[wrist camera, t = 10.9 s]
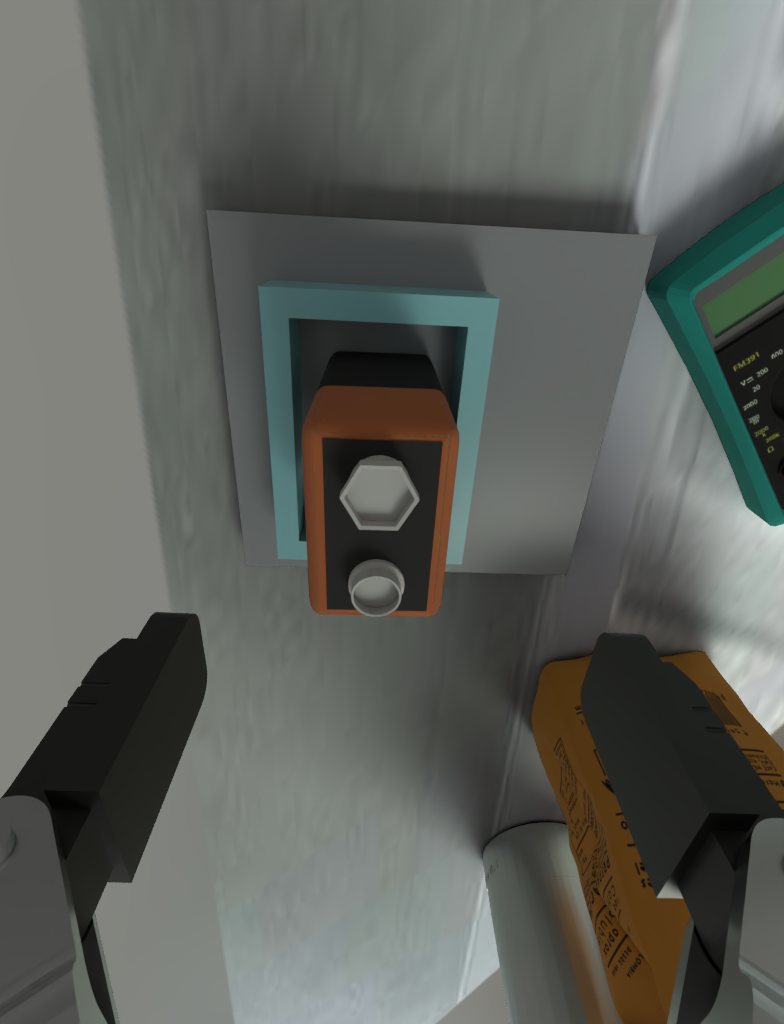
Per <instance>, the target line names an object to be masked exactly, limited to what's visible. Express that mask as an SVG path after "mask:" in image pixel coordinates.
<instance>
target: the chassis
mask: <svg viewBox="0 0 784 1024" xmlns="http://www.w3.org/2000/svg"><path fill="white" fill-rule="evenodd" d="M206 214H207V223H208V232H209V241H210V250H211V259H212V268H213V277H214V286H215V295H216V304H217V313H218V322H219V331H220V340H221V349H222V358H223V367H224V376H225V385H226V394H227V403H228V412H229V421H230V429H231V438H232V447H233V456H234V465H235V474H236V483H237V492H238V501H239V510H240V519H241V528H242V537H243V546H244V555H245V564H246V566H260V567H295V568H308V562H307V541H306V520H305V500H304V479H303V458H302V428H303V425H304V422H305V420H306V417H307V415H308V412H309V410H310V407H311V405H312V402H313V400H314V397H315V394H316V392H317V389H318V387H319V384H320V382H321V379H322V377H323V374H324V372H325V369H326V367H327V364H328V362H329V359H330V357H331V356H332V355H333V354H334V353H335V352H338V351H348V352H374V353H400V354H422V355H426V356H428V357H429V358H430V360H431V362H432V364H433V366H434V369H435V371H436V374H437V377H438V379H439V382H440V384H441V387H442V390H443V392H444V395H445V397H446V400H447V402H448V405H449V408H450V410H451V413H452V415H453V418H454V421H455V423H456V426H457V428H458V431H459V451H458V460H457V469H456V477H455V486H454V495H453V504H452V513H451V521H450V530H449V539H448V548H447V557H446V565H445V572H467V573H501V574H536V575H566V574H567V570H568V566H569V563H570V559H571V555H572V551H573V548H574V544H575V540H576V537H577V533H578V529H579V525H580V522H581V518H582V514H583V510H584V507H585V503H586V499H587V496H588V492H589V488H590V484H591V481H592V477H593V473H594V470H595V466H596V462H597V458H598V455H599V451H600V447H601V443H602V440H603V436H604V432H605V429H606V425H607V421H608V417H609V414H610V410H611V406H612V402H613V399H614V395H615V391H616V388H617V384H618V380H619V376H620V373H621V369H622V365H623V362H624V358H625V354H626V350H627V347H628V343H629V339H630V335H631V332H632V328H633V324H634V321H635V317H636V313H637V309H638V306H639V302H640V298H641V294H642V291H643V287H644V283H645V280H646V276H647V272H648V268H649V265H650V261H651V257H652V254H653V250H654V246H655V242H656V239H657V236H653V235H635V234H618V233H601V232H584V231H566V230H549V229H532V228H514V227H497V226H480V225H463V224H445V223H428V222H411V221H394V220H376V219H359V218H342V217H324V216H307V215H290V214H273V213H255V212H238V211H221V210H206Z"/></svg>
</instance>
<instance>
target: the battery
mask: <svg viewBox="0 0 784 1024" xmlns="http://www.w3.org/2000/svg"><path fill="white" fill-rule="evenodd" d="M458 451H459V431H458V428H457V426H456V423H455V421H454V418H453V415H452V413H451V410H450V408H449V405H448V402H447V400H446V397H445V395H444V392H443V390H442V387H441V384H440V382H439V379H438V377H437V374H436V371H435V369H434V366H433V364H432V362H431V360H430V358H429V357H428V356H426V355H422V354H400V353H374V352H348V351H338V352H335V353H334V354H333V355H332V356H331V357H330V359H329V362H328V364H327V367H326V369H325V372H324V374H323V377H322V379H321V382H320V384H319V387H318V389H317V392H316V394H315V397H314V400H313V402H312V405H311V407H310V410H309V412H308V415H307V417H306V420H305V422H304V425H303V428H302V458H303V479H304V500H305V520H306V541H307V562H308V582H309V597H310V603H311V606H312V608H313V610H314V611H315V612H316V613H318V614H325V615H367V616H371V617H382V616H432V615H434V614H435V613H436V612H437V611H438V609H439V607H440V604H441V599H442V592H443V583H444V574H445V565H446V557H447V548H448V539H449V530H450V521H451V513H452V504H453V495H454V486H455V477H456V469H457V460H458Z"/></svg>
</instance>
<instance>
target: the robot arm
mask: <svg viewBox="0 0 784 1024" xmlns="http://www.w3.org/2000/svg"><path fill="white" fill-rule="evenodd" d="M206 685H207V666H206V660H205V654H204V647H203V641H202V635H201V629H200V622H199V619H198V616H197V615H196V614H189V613H164V612H156V613H154V614H153V615H152V616H151V617H150V618H149V620H148V621H147V623H146V625H145V626H144V628H143V630H142V631H141V633H140V634H139V636H138V638H137V639H128V638H123V639H121V640H120V641H119V642H117V643H116V644H115V645H114V646H112V647H111V648H110V649H108V650H107V651H106V652H105V653H103V654H102V655H101V656H100V657H98V658H97V660H96V661H95V663H94V664H93V666H92V667H91V669H90V670H89V672H88V673H87V675H86V676H85V678H84V679H83V680H82V684H81V686H80V687H78V688H77V689H76V691H75V692H74V694H73V695H72V696H71V698H70V699H69V701H68V705H67V707H64V708H63V710H62V711H61V713H60V714H59V716H58V717H57V719H56V720H55V722H54V723H53V725H52V726H51V728H50V729H49V730H48V732H47V733H46V735H45V736H44V738H43V739H42V741H41V742H40V744H39V745H38V746H37V748H36V750H35V751H34V752H33V754H32V755H31V757H30V758H29V760H28V761H27V763H26V764H25V766H24V767H23V768H22V770H21V771H20V773H19V774H18V776H17V777H16V779H15V780H14V782H13V783H12V785H11V786H10V787H9V789H8V790H7V791H6V793H5V794H4V795H3V796H2V797H1V798H0V1024H120V1021H119V1017H118V1013H117V1008H116V1004H115V999H114V995H113V990H112V986H111V981H110V977H109V973H108V968H107V964H106V959H105V955H104V950H103V946H102V941H101V937H100V933H99V928H98V923H97V919H96V915H95V909H96V907H97V904H98V902H99V900H100V898H101V895H102V893H103V891H104V888H105V886H106V884H107V882H124V883H125V882H126V883H127V882H128V883H129V882H130V883H131V882H132V880H133V877H134V874H135V872H136V870H137V867H138V865H139V862H140V860H141V857H142V855H143V852H144V850H145V847H146V844H147V842H148V839H149V837H150V834H151V832H152V829H153V827H154V824H155V822H156V819H157V817H158V814H159V812H160V809H161V806H162V804H163V801H164V799H165V796H166V794H167V791H168V789H169V786H170V784H171V781H172V778H173V776H174V773H175V771H176V768H177V766H178V763H179V761H180V758H181V756H182V753H183V750H184V748H185V746H186V743H187V740H188V738H189V735H190V733H191V730H192V728H193V725H194V723H195V720H196V718H197V715H198V713H199V710H200V707H201V705H202V702H203V699H204V695H205V691H206ZM581 708H582V713H583V717H584V719H585V722H586V724H587V727H588V729H589V732H590V734H591V737H592V739H593V742H594V744H595V747H596V749H597V752H598V754H599V757H600V759H601V761H602V764H603V766H604V769H605V771H606V774H607V776H608V779H609V781H610V784H611V786H612V789H613V791H614V794H615V796H616V799H617V801H618V803H619V806H620V808H621V811H622V813H623V816H624V818H625V821H626V823H627V826H628V828H629V831H630V833H631V836H632V838H633V841H634V843H635V846H636V848H637V850H638V853H639V855H640V858H641V860H642V863H643V865H644V868H645V870H646V873H647V875H648V878H649V880H650V883H651V885H652V888H653V890H654V893H655V895H656V897H657V898H683V899H684V901H685V903H686V906H687V908H688V910H689V912H690V915H691V917H690V918H689V920H688V921H687V924H686V927H685V932H684V938H683V943H682V948H681V953H680V958H679V964H678V969H677V974H676V979H675V985H674V990H673V995H672V1000H671V1006H670V1011H669V1016H668V1021H667V1024H784V812H783V810H782V809H781V807H780V806H779V804H778V803H777V801H776V800H775V798H774V797H773V795H772V794H771V793H770V791H769V790H768V788H767V787H766V785H765V784H764V782H763V781H762V779H761V778H760V776H759V775H758V774H757V772H756V771H755V769H754V768H753V766H752V765H751V763H750V762H749V760H748V759H747V757H746V756H745V755H744V753H743V752H742V750H741V749H740V747H739V746H738V744H737V743H736V741H735V740H734V738H733V737H732V735H731V734H730V733H727V732H726V727H725V725H724V724H723V722H722V721H721V719H720V718H719V716H718V715H717V714H716V712H713V711H712V706H711V705H710V703H709V702H708V700H707V699H706V697H705V696H704V695H703V693H702V692H701V690H700V689H699V687H698V686H697V684H696V683H695V682H694V681H693V680H691V679H690V678H689V677H688V676H687V675H686V674H684V673H683V672H682V671H681V670H680V669H679V668H677V667H676V666H675V665H674V664H673V663H672V662H662V660H661V659H660V657H659V655H658V654H657V652H656V651H655V649H654V648H653V646H652V644H651V643H650V641H649V640H648V639H647V638H646V637H645V636H644V635H641V634H623V633H603V634H601V635H600V636H599V638H598V640H597V643H596V646H595V649H594V652H593V654H592V657H591V660H590V663H589V666H588V669H587V672H586V675H585V678H584V681H583V683H582V687H581ZM483 865H484V871H485V878H486V879H485V880H486V886H487V891H488V895H489V902H490V908H491V915H492V921H493V927H494V933H495V939H496V945H497V951H498V957H499V964H500V970H501V976H502V982H503V988H504V994H505V1000H506V1006H507V1012H508V1019H509V1024H623V1022H622V1021H621V1019H620V1018H619V1015H618V1013H617V1011H616V1008H615V1006H614V1003H613V1000H612V996H611V992H610V989H609V985H608V981H607V978H606V974H605V970H604V967H603V963H602V959H601V955H600V951H599V946H598V943H597V939H596V935H595V932H594V928H593V925H592V922H591V918H590V915H589V912H588V909H587V906H586V902H585V898H584V895H583V891H582V887H581V883H580V878H579V873H578V869H577V865H576V863H575V860H574V858H573V855H572V853H571V850H570V846H569V837H568V826H567V825H565V824H559V823H532V824H527V825H522V826H518V827H515V828H512V829H510V830H507V831H505V832H503V833H501V834H499V835H498V836H496V837H495V838H494V839H493V840H491V841H490V842H489V844H488V845H487V846H486V847H485V850H484V852H483Z"/></svg>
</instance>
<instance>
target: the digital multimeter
mask: <svg viewBox="0 0 784 1024" xmlns="http://www.w3.org/2000/svg"><path fill="white" fill-rule="evenodd" d="M647 291H648V296H649V298H650V300H651V302H652V304H653V305H654V307H655V309H656V311H657V313H658V315H659V316H660V318H661V320H662V322H663V324H664V326H665V328H666V329H667V331H668V333H669V335H670V337H671V339H672V341H673V342H674V344H675V346H676V348H677V350H678V352H679V354H680V355H681V357H682V359H683V361H684V363H685V365H686V366H687V368H688V371H689V373H690V375H691V377H692V379H693V381H694V383H695V385H696V387H697V389H698V391H699V393H700V395H701V397H702V399H703V402H704V404H705V406H706V408H707V410H708V412H709V414H710V416H711V418H712V420H713V422H714V425H715V427H716V430H717V432H718V435H719V437H720V439H721V442H722V444H723V447H724V449H725V452H726V454H727V456H728V459H729V461H730V464H731V466H732V468H733V471H734V474H735V476H736V479H737V482H738V484H739V487H740V490H741V492H742V495H743V498H744V501H745V503H746V506H747V507H748V508H749V509H750V510H751V511H752V512H754V513H755V514H756V515H758V516H759V517H760V518H761V519H763V520H764V521H765V522H767V523H768V524H769V525H770V526H777V525H781V524H784V183H783V184H782V185H780V186H778V187H777V188H775V189H773V190H772V191H770V192H769V193H767V194H766V195H764V196H762V197H761V198H759V199H758V200H756V201H755V202H753V203H752V204H750V205H748V206H747V207H745V208H744V209H742V210H741V211H739V212H738V213H736V214H735V215H734V216H732V217H731V218H729V219H728V220H727V221H725V222H724V223H722V224H721V225H720V226H718V227H717V228H715V229H714V230H712V231H711V232H710V233H708V234H707V235H706V236H705V237H703V238H702V239H701V240H700V241H698V242H697V243H696V244H694V245H693V246H692V247H691V248H689V249H688V250H687V251H686V252H684V253H683V254H682V255H681V256H679V257H678V258H677V259H676V260H674V261H673V262H672V263H671V264H670V265H668V266H667V267H666V268H665V269H664V270H662V271H661V272H660V273H659V274H658V275H656V276H655V277H654V278H653V279H652V280H651V281H650V283H649V286H648V288H647ZM716 356H717V357H716ZM717 358H718V359H717ZM718 361H719V362H718ZM719 363H720V364H719ZM720 365H721V366H720ZM721 368H722V369H721ZM722 370H723V371H722ZM723 372H724V374H723ZM724 375H725V376H724ZM725 377H726V378H725ZM726 379H727V381H726ZM727 382H728V383H727ZM728 384H729V385H728ZM729 387H730V388H729ZM730 389H731V390H730ZM731 391H732V392H731ZM732 394H733V395H732ZM733 396H734V397H733ZM734 398H735V399H734ZM735 401H736V402H735ZM736 403H737V404H736ZM737 405H738V406H737ZM738 408H739V409H738ZM739 410H740V411H739ZM768 410H769V411H768ZM740 412H741V413H740ZM741 415H742V416H741ZM742 417H743V418H742ZM772 417H773V418H772ZM743 419H744V420H743ZM776 421H777V422H776ZM744 422H745V423H744ZM745 424H746V425H745ZM746 426H747V427H746ZM747 429H748V430H747ZM748 431H749V432H748ZM749 433H750V434H749ZM750 436H751V437H750ZM751 438H752V439H751ZM752 440H753V441H752ZM753 443H754V444H753ZM754 445H755V446H754ZM755 447H756V448H755ZM756 450H757V451H756ZM757 452H758V453H757ZM758 454H759V455H758ZM762 464H763V465H762ZM763 466H764V467H763ZM764 468H765V469H764ZM765 471H766V472H765ZM766 473H767V474H766ZM767 475H768V477H767ZM768 478H769V479H768ZM769 480H770V481H769ZM770 482H771V483H770ZM771 485H772V486H771ZM772 487H773V488H772ZM774 492H775V493H774ZM775 494H776V495H775ZM777 499H778V500H777Z"/></svg>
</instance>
